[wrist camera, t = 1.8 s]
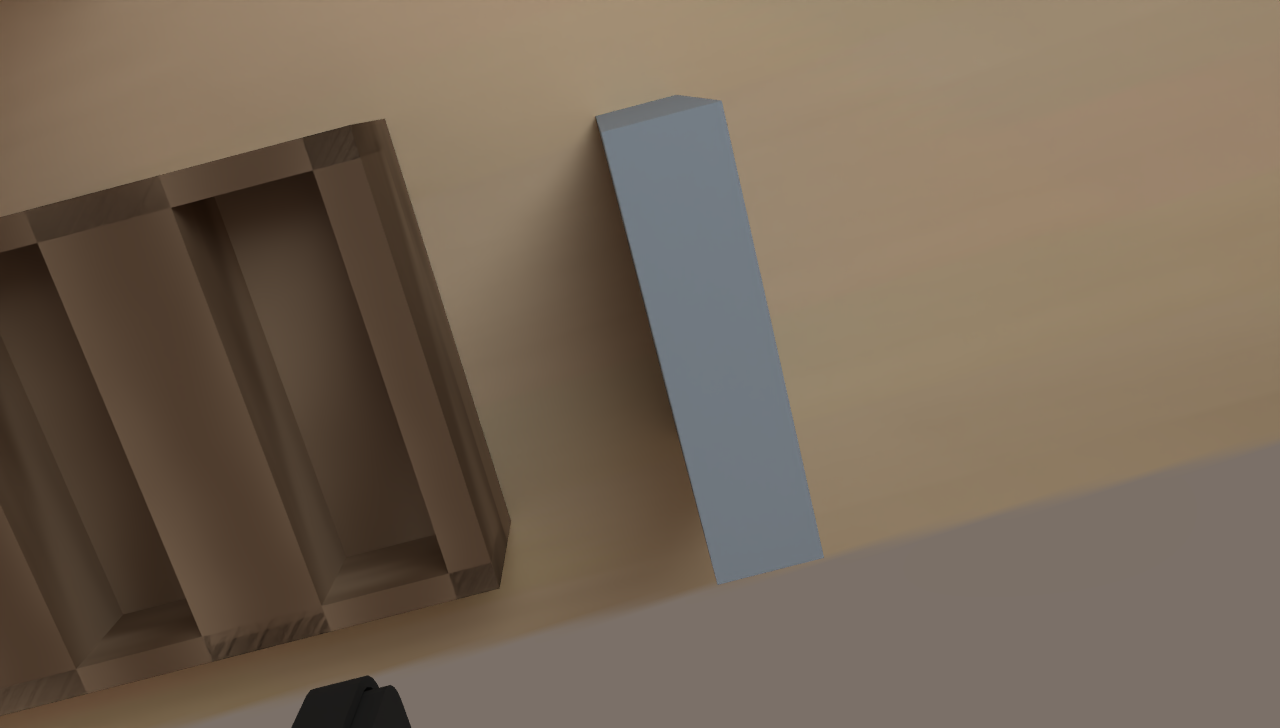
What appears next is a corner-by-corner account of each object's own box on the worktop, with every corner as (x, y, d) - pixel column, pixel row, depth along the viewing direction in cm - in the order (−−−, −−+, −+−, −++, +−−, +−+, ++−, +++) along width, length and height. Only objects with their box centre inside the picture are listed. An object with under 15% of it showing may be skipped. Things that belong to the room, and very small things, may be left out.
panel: (677, 434, 32) (717, 584, 23) (595, 116, 30) (601, 132, 20) (751, 415, 32) (824, 557, 23) (676, 95, 29) (721, 100, 20)
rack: (-94, 675, 33) (-204, 773, 28) (-288, 296, 29) (-451, 336, 25) (510, 520, 33) (498, 593, 28) (384, 118, 29) (346, 125, 25)
